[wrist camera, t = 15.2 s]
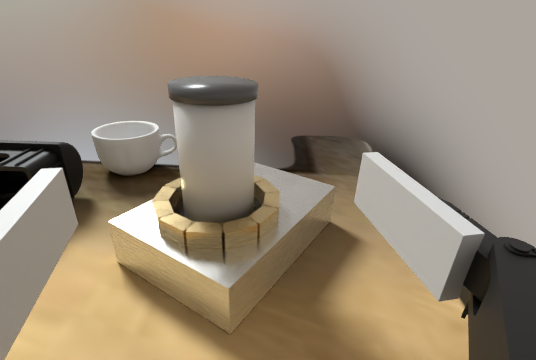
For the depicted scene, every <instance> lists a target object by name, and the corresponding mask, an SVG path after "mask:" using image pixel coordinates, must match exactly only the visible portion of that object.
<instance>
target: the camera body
mask: <svg viewBox="0 0 536 360" xmlns="http://www.w3.org/2000/svg"><path fill="white" fill-rule="evenodd" d="M334 192H335V186H332V185H328V184H325V183H322V182H318V181H315V180H312V179H308V178H305V177H302V176H298V175H295V174H292V173H288V172H285V171H281V170H278V169H275V168H271V167H268V166H265V165H261V164H258V163H255V162H254V211H253V213H252V214H251V215H250V216H248V217H245V218H241V219H237V220H233V221H229V222H225V223H209V222H193V221H191V220H189V219H187V218H186V217H185V215H184V207H183V197H182V187H181V178H178V179H176V180H174V181H172V182H170V183H168V184H166V185H165V186H163V187H162V188H161V190H160V191H159V192H158V194H157V195H156V196H155V198H154V199H152V200H150V201H148V202H146V203H144V204H142V205H140V206H138V207H136V208H134V209H132V210H130V211H128V212H126V213H124V214H122V215H120V216H118V217H116V218H114V219H112V220H110V221H108V224H109V228H110V232H111V237H112V241H113V245H114V249H115V254H116V258H117V262H119V263H120V264H122V265H123V266H125V267H126V268H128V269H129V270H131V271H132V272H134V273H136V274H137V275H139V276H140V277H142V278H143V279H145V280H146V281H148V282H150V283H151V284H153V285H154V286H156V287H157V288H159V289H160V290H162V291H164V292H165V293H167V294H168V295H170V296H171V297H173V298H174V299H176V300H178V301H179V302H181V303H182V304H184V305H185V306H187V307H188V308H190V309H192V310H193V311H195V312H196V313H198V314H199V315H201V316H202V317H204V318H206V319H207V320H209V321H210V322H212V323H213V324H215V325H216V326H218V327H219V328H221V329H223V330H224V331H226V332H227V333H229V334H231V333H232V332H233V331H234V330H235V329H236V327H237V326H238V325H239V324H240V323H241V322H242V321H243V319H244V318H245V317H246V316H247V315H248V314H249V313H250V312H251V310H252V309H253V308H254V307H255V306H256V305H257V304H258V302H259V301H260V300H261V299H262V298H263V297H264V296H265V295H266V293H267V292H268V291H269V290H270V289H271V288H272V287H273V286H274V284H275V283H276V282H277V281H278V280H279V279H280V278H281V276H282V275H283V274H284V273H285V272H286V271H287V270H288V269H289V267H290V266H291V265H292V264H293V263H294V262H295V261H296V259H297V258H298V257H299V256H300V255H301V254H302V253H303V252H304V250H305V249H306V248H307V247H308V246H309V245H310V244H311V243H312V241H313V240H314V239H315V238H316V237H317V236H318V235H319V233H320V232H321V231H322V230H323V229H324V228H325V227H326V226H327V224H328V223H329V222H330V220H331V213H332V206H333V199H334Z"/></svg>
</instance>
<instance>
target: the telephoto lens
mask: <svg viewBox="0 0 536 360" xmlns="http://www.w3.org/2000/svg"><path fill="white" fill-rule="evenodd" d="M168 93H169V98H170V99H171V100H172V101H173V110H174V120H175V130H176V139H177V149H178V159H179V168H180V178H181V187H182V197H183V207H184V215H185V217H186V218H187V219H189V220H191V221H193V222H209V223H225V222H229V221H233V220H237V219H241V218H245V217H248V216H250V215H251V214H252V213H253V211H254V134H255V132H254V130H255V99H256V98H257V97H258V83H257V82H255V81H253V80H249V79H245V78H238V77H227V76H197V77H186V78H180V79H175V80H172V81H170V82H169V83H168Z"/></svg>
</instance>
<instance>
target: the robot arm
mask: <svg viewBox="0 0 536 360" xmlns="http://www.w3.org/2000/svg"><path fill="white" fill-rule="evenodd" d="M354 203H355V204H356V205H357V206H358V207H359V209H360V210H361V211H362V212H363V213H364V214H365V216H366V217H367V218H368V219H369V220H370V221H371V223H372V224H373V225H374V226H375V227H376V229H377V230H378V231H379V232H380V233H381V234H382V236H383V237H384V238H385V239H386V240H387V242H388V243H389V244H390V245H391V246H392V247H393V249H394V250H395V251H396V252H397V253H398V254H399V256H400V257H401V258H402V259H403V260H404V262H405V263H406V264H407V265H408V266H409V267H410V269H411V270H412V271H413V272H414V273H415V275H416V276H417V277H418V278H419V279H420V280H421V282H422V283H423V284H424V285H425V286H426V287H427V289H428V290H429V291H430V292H431V293H432V295H433V296H434V297H435V298H436V299H437V300H438V301H445V300H451V299H458V297H459V294H460V292H461V290H462V287H463V285H464V286H466V288H467V289H468V290H469V291H470V292H471V295H470V298H469V300H468V302H467V304H466V307H465V309H464V311H463V313H462V316H461V317H462V318H464V319H465V317H466V315H467V314H468V328H469V360H536V248H535V247H534V246H532V245H530V244H527V243H526V242H524V241H520V240H518V239H514V238H509V237H499V238H497V237H496V236H495V235H493V234H492V233H491V232H489V231H488V230H486V229H485V228H483V227H482V226H481V225H480V224H478V223H477V222H476V221H474V220H473V219H472V218H471V219H470V218H469V216H468V215H466V214H465V213H462V212H461V210H459V209H458V208H457V207H455V206H454V205H453V204H451V203H449V202H447V201H445V200H443V199H440V198H437V197H436V196H435V195H433V194H432V193H431V192H429V191H428V190H427V189H425V188H424V187H423V186H421V185H420V184H419V183H418V182H416V181H415V180H414V179H412V178H411V177H410V176H408V175H407V174H405V173H404V172H403V171H402V170H400V169H399V168H398V167H396V166H395V165H394V164H392V163H391V162H390V161H388V160H387V159H386V158H384V157H383V156H382V155H380V154H379V153H378V152H372V153H363V155H362V161H361V167H360V172H359V178H358V183H357V189H356V194H355V200H354ZM77 226H78V221H77V218H76V214H75V211H74V207H73V203H72V200H71V196H70V193H69V189H68V186H67V182H66V179H65V175H64V172H63V168H47V169H40V171H39V172H38V173H37V174H36V175H35V176H34V177H33V178H32V179H31V180H30V181H29V182H28V183H27V184H26V185H25V186H24V187H23V188H22V189H21V190H20V191H19V192H18V193H17V194H16V195H15V196H14V197H13V198H12V199H11V200H10V201H9V202H8V203H7V204H6V205H5V206H4V207H3V208H2V209H1V210H0V360H4V359H5V357H6V356H7V354H8V352H9V350H10V348H11V347H12V345H13V343H14V341H15V339H16V337H17V336H18V334H19V332H20V330H21V328H22V326H23V325H24V323H25V321H26V319H27V317H28V316H29V314H30V312H31V310H32V308H33V306H34V305H35V303H36V301H37V299H38V297H39V295H40V294H41V292H42V290H43V288H44V286H45V284H46V283H47V281H48V279H49V277H50V275H51V274H52V272H53V270H54V268H55V266H56V264H57V263H58V261H59V259H60V257H61V255H62V253H63V252H64V250H65V248H66V246H67V244H68V243H69V241H70V239H71V237H72V235H73V233H74V232H75V230H76V228H77Z"/></svg>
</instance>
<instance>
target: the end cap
mask: <svg viewBox="0 0 536 360" xmlns="http://www.w3.org/2000/svg"><path fill="white" fill-rule="evenodd" d="M47 168H63V172H64V175H65V179H66V182H67V186H68V189H69V193H70V196H71V200H73V199H74V196H75V195H76V194H77V192H78V190H79V188H80V186H81V183H82V177H83V165H82V161H81V157H80V155H79V153H78V152H77V150H76V149H75V148H74V147H73V146H72V145H70V144H68V143H64V142H37V141H3V140H0V210H1V209H2V208H3V207H4V206H5V205H6V204H7V203H8V202H9V201H10V200H11V199H12V198H13V197H14V196H15V195H16V194H17V193H18V192H19V191H20V190H21V189H22V188H23V187H24V186H25V185H26V184H27V183H28V182H29V181H30V180H31V179H32V178H33V177H34V176H35V175H36V174H37V173H38V172H39V171H40V169H47Z"/></svg>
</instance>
